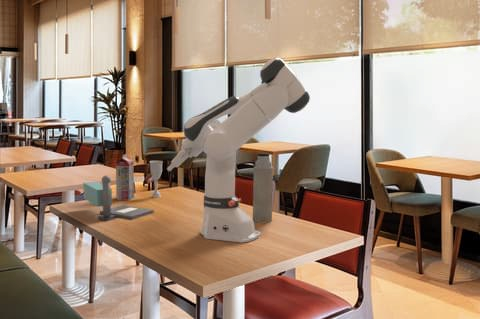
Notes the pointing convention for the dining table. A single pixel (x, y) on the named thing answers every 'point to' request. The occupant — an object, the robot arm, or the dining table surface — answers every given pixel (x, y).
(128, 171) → the white tall printed box
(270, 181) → the thermos bottle
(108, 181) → the block
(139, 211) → the grey flat rectangular block
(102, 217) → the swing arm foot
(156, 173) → the chalice
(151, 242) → the dining table surface
